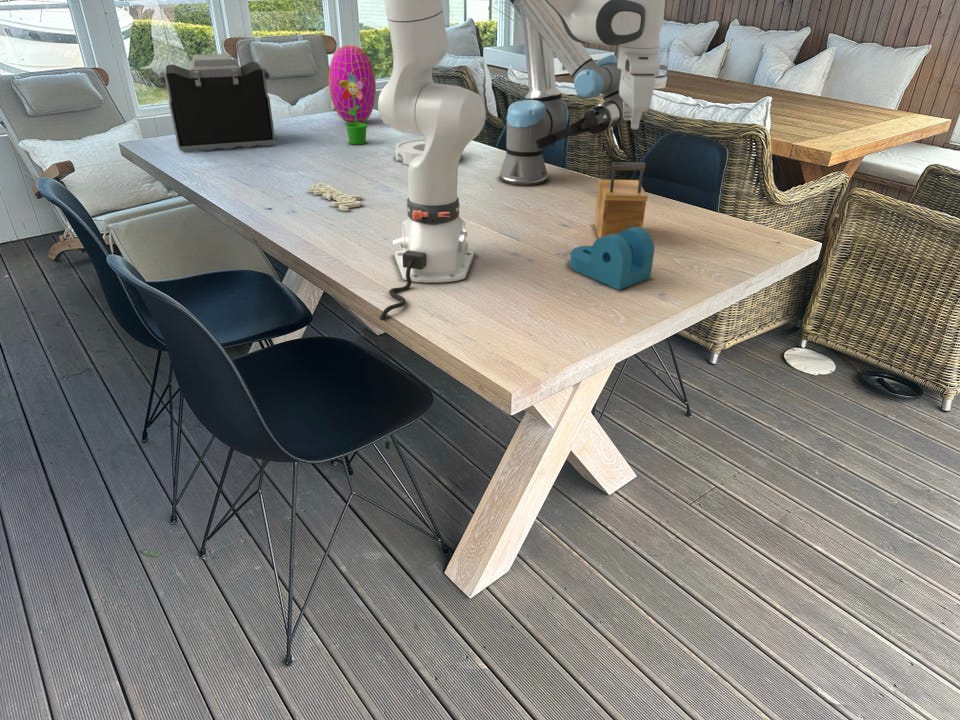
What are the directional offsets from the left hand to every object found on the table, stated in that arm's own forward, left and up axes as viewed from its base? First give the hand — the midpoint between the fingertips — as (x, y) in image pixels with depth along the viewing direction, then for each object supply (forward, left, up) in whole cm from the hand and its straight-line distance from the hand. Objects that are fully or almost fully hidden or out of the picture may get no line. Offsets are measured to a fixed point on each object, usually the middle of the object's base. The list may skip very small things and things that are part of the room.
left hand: (630, 124), depth 161 cm
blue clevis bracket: (-20, +8, -29) cm, 36 cm away
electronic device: (+105, +126, -29) cm, 166 cm away
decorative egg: (+142, +81, -29) cm, 166 cm away
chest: (+4, -1, -29) cm, 29 cm away
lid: (+4, -1, -17) cm, 18 cm away
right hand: (+32, +13, -11) cm, 36 cm away
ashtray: (+83, +49, -29) cm, 100 cm away
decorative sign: (+37, +76, -29) cm, 89 cm away
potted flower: (+105, +76, -29) cm, 133 cm away
